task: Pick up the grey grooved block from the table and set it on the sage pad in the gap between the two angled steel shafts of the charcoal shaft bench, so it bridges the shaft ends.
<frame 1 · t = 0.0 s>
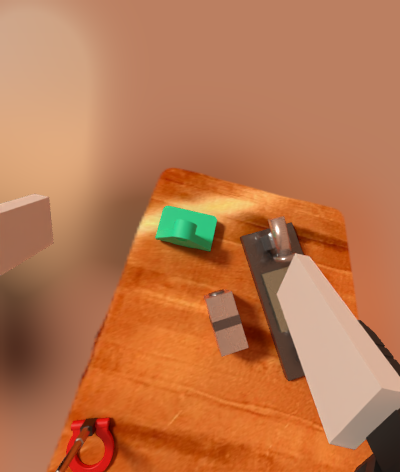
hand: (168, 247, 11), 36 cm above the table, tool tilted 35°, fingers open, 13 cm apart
camera mount: (187, 230, 49), on the table
tow hook: (92, 443, 40), on the table
shaft bench: (287, 295, 47), on the table
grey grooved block: (221, 316, 45), on the table
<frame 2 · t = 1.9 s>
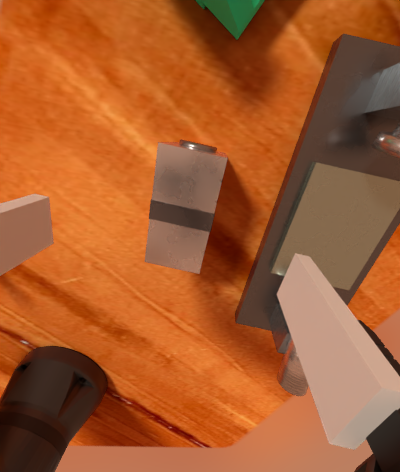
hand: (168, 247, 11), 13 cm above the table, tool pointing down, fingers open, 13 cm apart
shaft bench: (324, 225, 24), on the table
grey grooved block: (191, 195, 23), on the table
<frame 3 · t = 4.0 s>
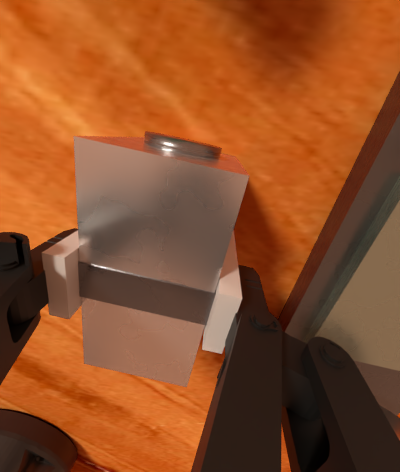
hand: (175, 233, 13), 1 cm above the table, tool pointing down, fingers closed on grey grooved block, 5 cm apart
shaft bench: (396, 275, 14), on the table
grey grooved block: (179, 225, 14), on the table, touching gripper
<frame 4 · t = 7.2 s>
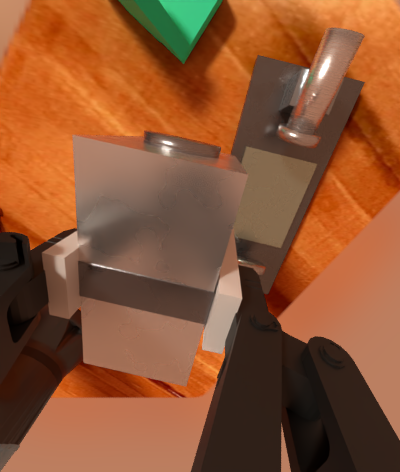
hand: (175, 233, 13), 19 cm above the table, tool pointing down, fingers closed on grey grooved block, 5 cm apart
shaft bench: (262, 197, 31), on the table
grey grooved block: (178, 225, 14), point 18 cm above the table, touching gripper
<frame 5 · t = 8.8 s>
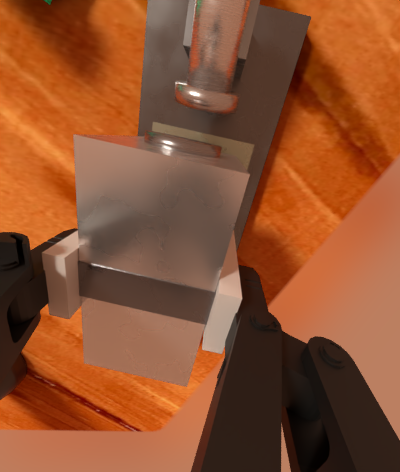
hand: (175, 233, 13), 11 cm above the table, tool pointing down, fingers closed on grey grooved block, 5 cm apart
shaft bench: (193, 194, 23), on the table
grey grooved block: (179, 225, 14), point 9 cm above the table, touching gripper
when the fingers open (5 cm above the table, at t = 10.5 s): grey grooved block stays where it is, resting on shaft bench.
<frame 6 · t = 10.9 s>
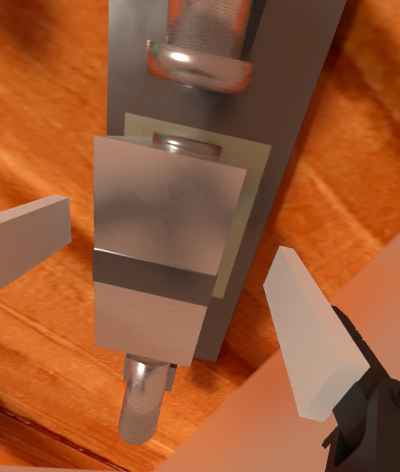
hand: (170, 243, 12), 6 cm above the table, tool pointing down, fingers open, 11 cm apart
shaft bench: (186, 211, 17), on the table
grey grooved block: (181, 220, 15), point 2 cm above the table, touching shaft bench
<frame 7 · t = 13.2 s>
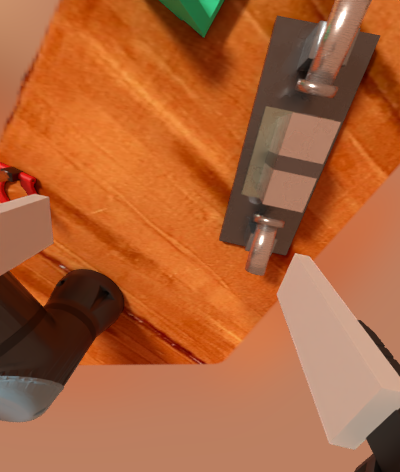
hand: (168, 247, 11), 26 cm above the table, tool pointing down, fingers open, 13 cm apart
tow hook: (20, 191, 41), on the table
shaft bench: (280, 159, 33), on the table
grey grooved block: (283, 160, 30), point 2 cm above the table, touching shaft bench
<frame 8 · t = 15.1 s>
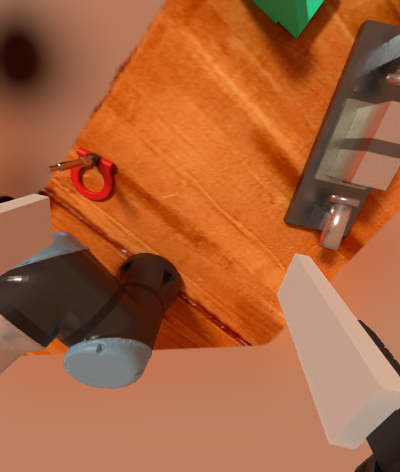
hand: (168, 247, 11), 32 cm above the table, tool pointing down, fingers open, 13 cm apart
tow hook: (94, 176, 43), on the table
shaft bench: (349, 147, 36), on the table
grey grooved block: (357, 147, 34), point 2 cm above the table, touching shaft bench
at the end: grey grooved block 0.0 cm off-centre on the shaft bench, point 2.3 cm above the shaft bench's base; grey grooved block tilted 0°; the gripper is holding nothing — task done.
